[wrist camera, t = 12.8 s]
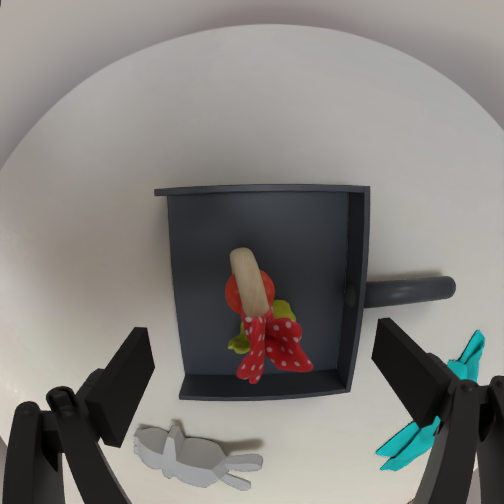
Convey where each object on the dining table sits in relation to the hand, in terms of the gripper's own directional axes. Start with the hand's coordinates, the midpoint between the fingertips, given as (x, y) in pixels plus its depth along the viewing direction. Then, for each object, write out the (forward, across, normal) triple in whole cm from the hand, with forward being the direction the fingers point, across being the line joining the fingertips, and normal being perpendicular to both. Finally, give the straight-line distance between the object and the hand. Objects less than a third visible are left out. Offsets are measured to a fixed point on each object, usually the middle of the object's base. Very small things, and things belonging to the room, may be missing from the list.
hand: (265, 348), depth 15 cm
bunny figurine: (+10, -8, -21) cm, 25 cm away
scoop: (+10, +6, 0) cm, 12 cm away
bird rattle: (+10, -1, 0) cm, 10 cm away
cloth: (+10, +26, -21) cm, 35 cm away
